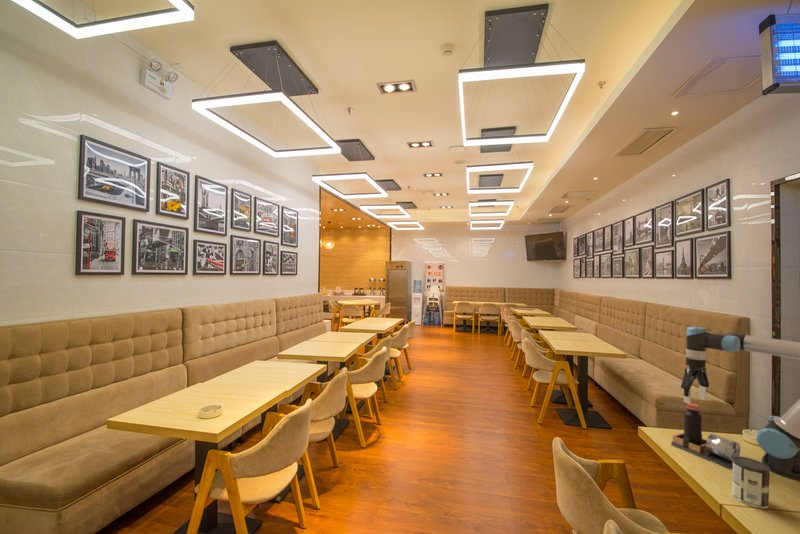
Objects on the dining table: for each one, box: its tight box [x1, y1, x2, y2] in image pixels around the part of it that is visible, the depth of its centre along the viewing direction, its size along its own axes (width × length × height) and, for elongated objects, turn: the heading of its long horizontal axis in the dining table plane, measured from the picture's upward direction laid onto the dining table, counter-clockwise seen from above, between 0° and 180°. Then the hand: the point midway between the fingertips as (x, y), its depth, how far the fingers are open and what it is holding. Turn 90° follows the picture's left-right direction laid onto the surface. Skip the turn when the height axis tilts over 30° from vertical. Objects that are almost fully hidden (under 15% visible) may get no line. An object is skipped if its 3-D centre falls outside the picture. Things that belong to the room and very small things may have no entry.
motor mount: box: [670, 432, 741, 469], centre depth 170 cm, size 23×13×10 cm, turn 25°
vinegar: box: [683, 402, 703, 446], centre depth 175 cm, size 7×7×20 cm
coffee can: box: [731, 456, 771, 510], centre depth 135 cm, size 10×10×14 cm
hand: (694, 401), depth 175 cm, fingers open, 13 cm apart
